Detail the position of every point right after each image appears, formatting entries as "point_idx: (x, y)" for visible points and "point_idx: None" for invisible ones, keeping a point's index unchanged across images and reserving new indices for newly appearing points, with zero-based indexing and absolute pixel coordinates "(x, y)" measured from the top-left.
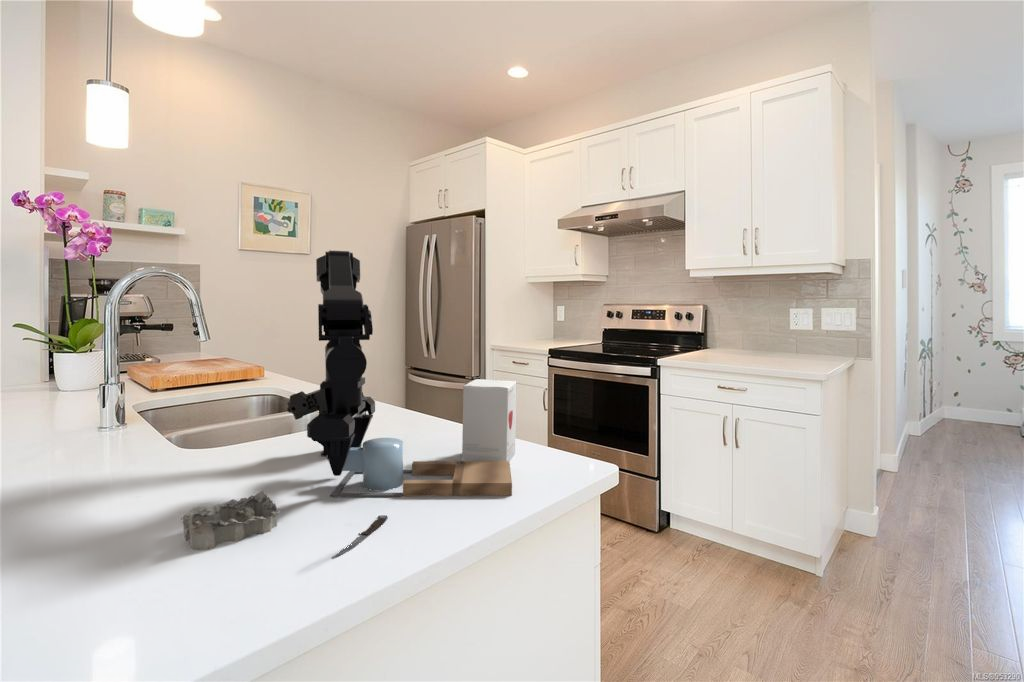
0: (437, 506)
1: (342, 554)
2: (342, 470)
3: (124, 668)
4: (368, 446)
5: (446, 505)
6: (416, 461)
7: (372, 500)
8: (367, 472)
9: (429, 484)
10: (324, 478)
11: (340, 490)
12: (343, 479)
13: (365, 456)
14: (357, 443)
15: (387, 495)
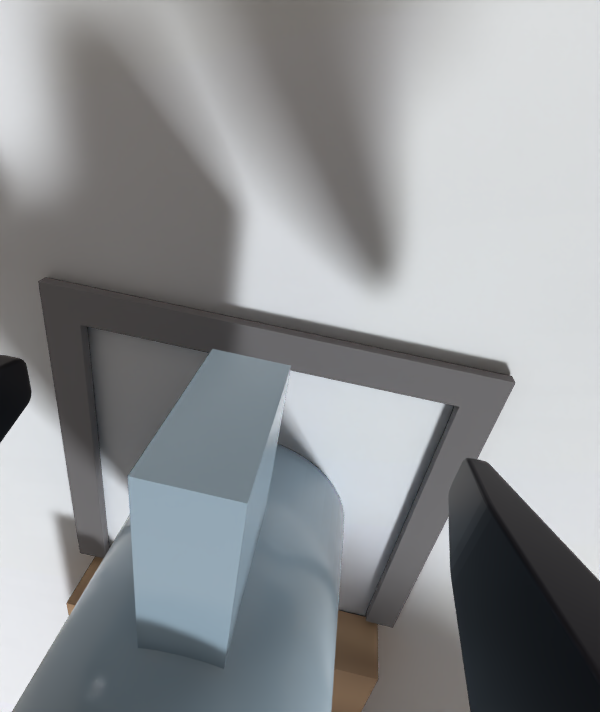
0: (19, 609)
1: None
2: (3, 429)
3: None
4: None
5: (31, 626)
6: (370, 687)
7: (37, 459)
8: (129, 523)
9: None
10: (413, 200)
11: (128, 332)
12: (311, 344)
13: (84, 618)
14: (471, 630)
15: (76, 514)
